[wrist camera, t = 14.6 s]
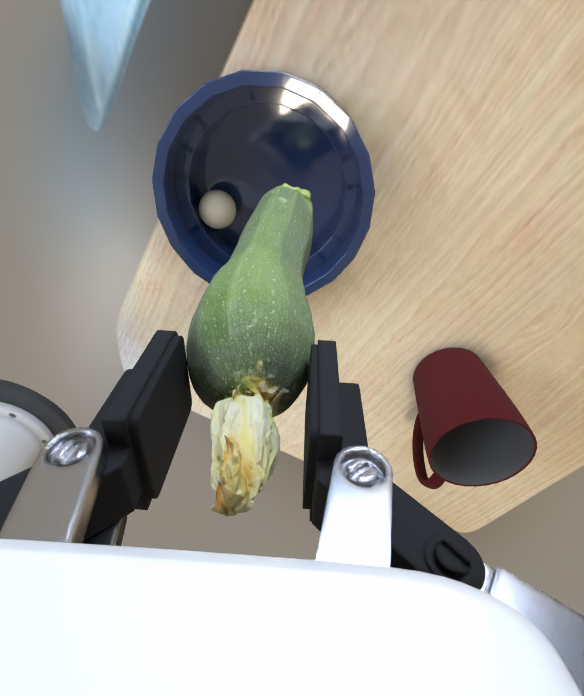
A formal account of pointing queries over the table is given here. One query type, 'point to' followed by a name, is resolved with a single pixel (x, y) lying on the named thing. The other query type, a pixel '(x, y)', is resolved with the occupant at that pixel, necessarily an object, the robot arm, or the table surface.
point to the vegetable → (254, 345)
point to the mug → (466, 423)
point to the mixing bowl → (263, 168)
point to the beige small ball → (217, 209)
